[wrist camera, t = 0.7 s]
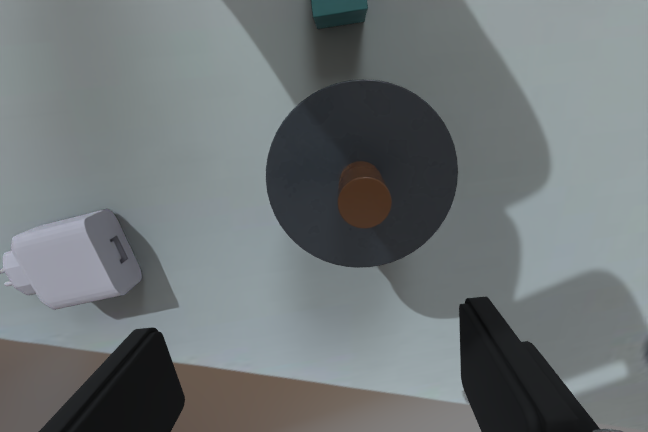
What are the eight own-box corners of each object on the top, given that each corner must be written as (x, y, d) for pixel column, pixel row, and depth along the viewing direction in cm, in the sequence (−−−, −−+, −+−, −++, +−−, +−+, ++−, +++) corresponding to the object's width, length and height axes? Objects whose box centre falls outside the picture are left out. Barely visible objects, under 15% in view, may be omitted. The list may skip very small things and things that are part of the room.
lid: (253, 95, 22) (220, 91, 16) (451, 67, 21) (494, 52, 15) (285, 267, 26) (268, 316, 20) (453, 252, 24) (487, 299, 19)
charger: (1, 234, 40) (111, 206, 38) (39, 299, 43) (145, 277, 41) (-43, 251, 35) (80, 220, 33) (4, 323, 38) (120, 298, 36)
